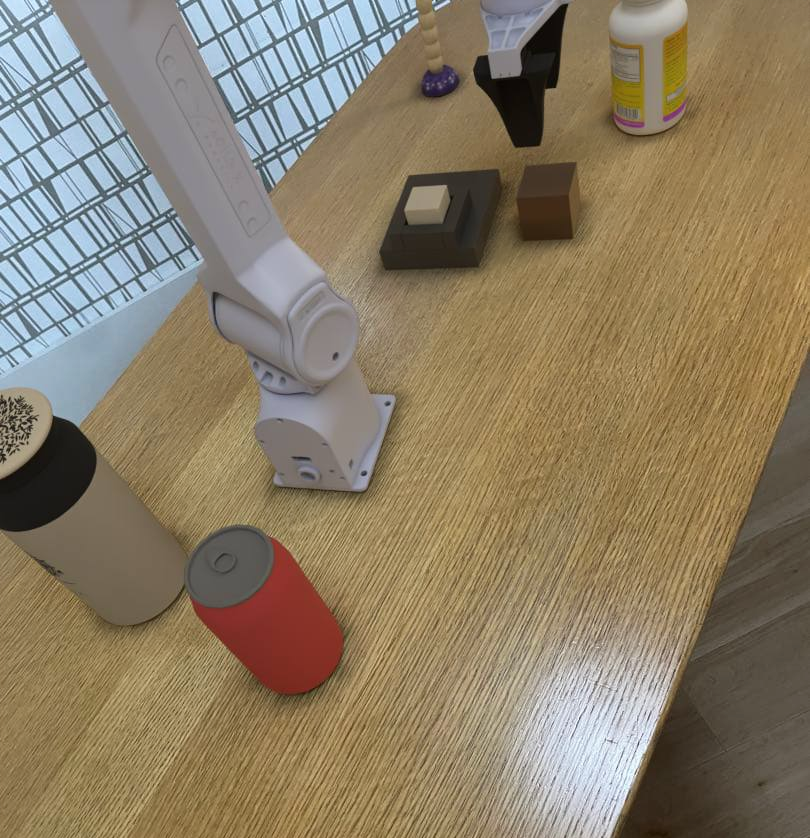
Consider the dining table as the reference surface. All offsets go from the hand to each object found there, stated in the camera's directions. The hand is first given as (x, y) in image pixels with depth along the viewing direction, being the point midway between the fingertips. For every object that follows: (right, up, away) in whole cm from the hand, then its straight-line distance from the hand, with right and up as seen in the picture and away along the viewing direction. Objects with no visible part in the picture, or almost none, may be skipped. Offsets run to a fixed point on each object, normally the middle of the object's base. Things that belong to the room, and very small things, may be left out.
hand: (536, 115), depth 67 cm
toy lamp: (-6, +16, +26) cm, 31 cm away
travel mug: (-31, -37, -2) cm, 48 cm away
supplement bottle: (+13, +6, +13) cm, 20 cm away
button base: (-7, -5, +12) cm, 14 cm away
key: (-8, -5, +8) cm, 12 cm away
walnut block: (+3, -6, +8) cm, 10 cm away
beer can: (-18, -42, -9) cm, 46 cm away
